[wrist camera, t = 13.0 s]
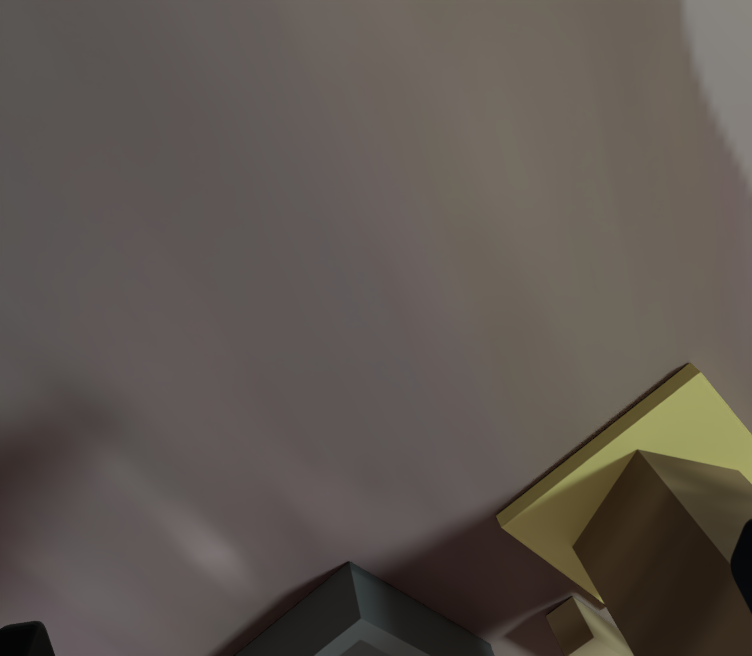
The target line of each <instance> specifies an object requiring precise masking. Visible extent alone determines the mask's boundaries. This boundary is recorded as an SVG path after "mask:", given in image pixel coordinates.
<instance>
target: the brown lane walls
mask: <svg viewBox="0 0 752 656" xmlns="http://www.w3.org/2000/svg"><path fill="white" fill-rule="evenodd" d="M546 618H547V620H548V622H549V625H550V627H551V629H552V631H553V633H554V635H555V637H556V639H557V641H558V644H559V646H560V648H561V650H562V652H563V654H564V656H634V655H633V653H632V651H631V649H630V648H629V646H628V644H627V642H626V641H625V639H624V637H623V635H622V634H621V632H620V630H618V629H617V628H616V627H614V626H613V625H611V624H610V623H609V622H607V621H606V620H604V619H603V618H602V617H600V616H599V615H598V614H596V613H595V612H593V611H592V610H591V609H589V608H588V607H586V606H585V605H584V604H582V603H581V602H579V601H578V600H577V599H575V598H574V597H571V598H570V599H569V600H567V601H566V602H564V603H563V604H562V605H560V606H559V607H558V608H556V609H555V610H554V611H552V612H551V613H549V614H548V615H547V616H546Z"/></svg>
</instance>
